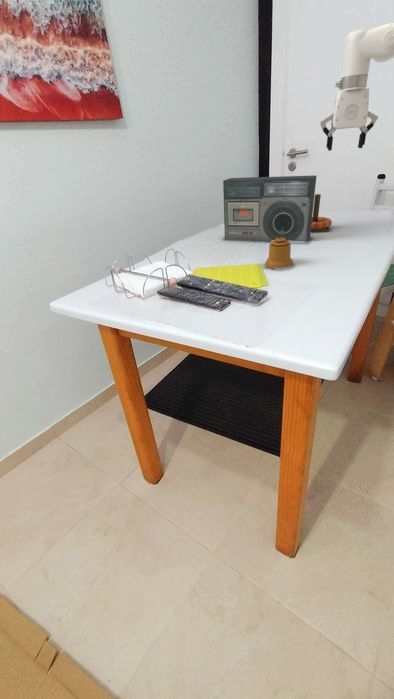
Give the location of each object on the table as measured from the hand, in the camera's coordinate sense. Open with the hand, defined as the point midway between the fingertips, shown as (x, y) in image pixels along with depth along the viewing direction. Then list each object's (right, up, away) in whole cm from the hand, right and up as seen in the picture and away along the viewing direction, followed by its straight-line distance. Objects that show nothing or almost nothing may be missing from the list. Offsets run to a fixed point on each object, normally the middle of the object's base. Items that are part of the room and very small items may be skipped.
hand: (344, 149), depth 112 cm
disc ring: (-5, -20, +13) cm, 24 cm away
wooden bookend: (-5, -22, +15) cm, 27 cm away
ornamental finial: (-26, -44, -16) cm, 53 cm away
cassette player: (-25, -28, +8) cm, 38 cm away
